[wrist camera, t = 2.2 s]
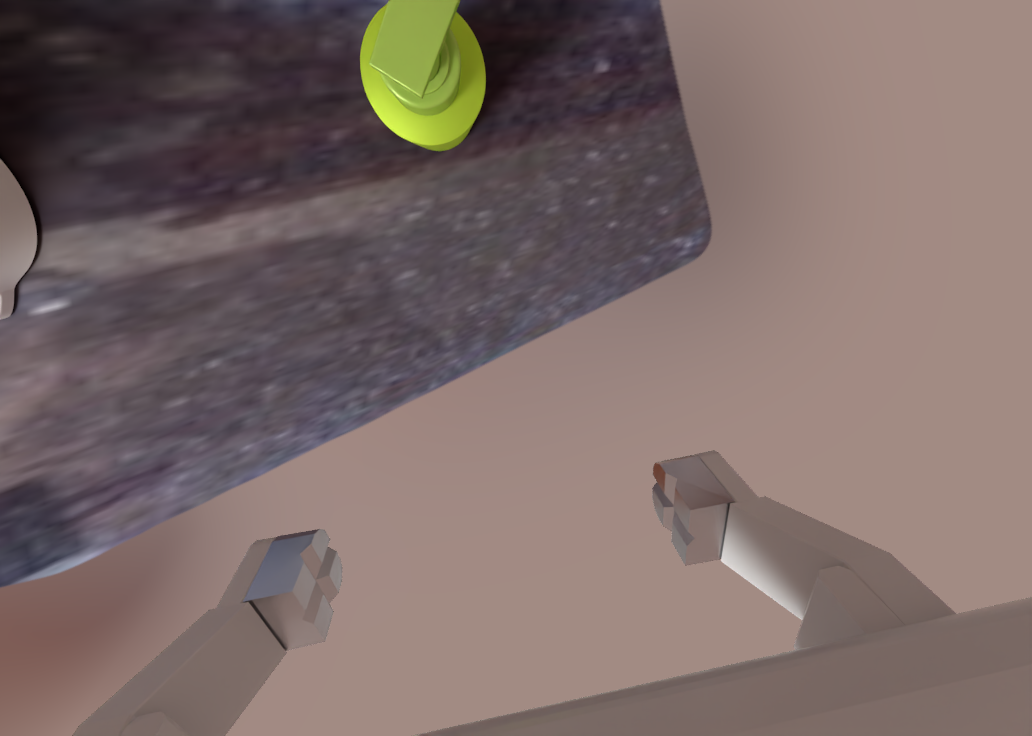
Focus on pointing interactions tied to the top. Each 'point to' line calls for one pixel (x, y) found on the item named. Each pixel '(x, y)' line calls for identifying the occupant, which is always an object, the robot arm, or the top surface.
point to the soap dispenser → (423, 71)
